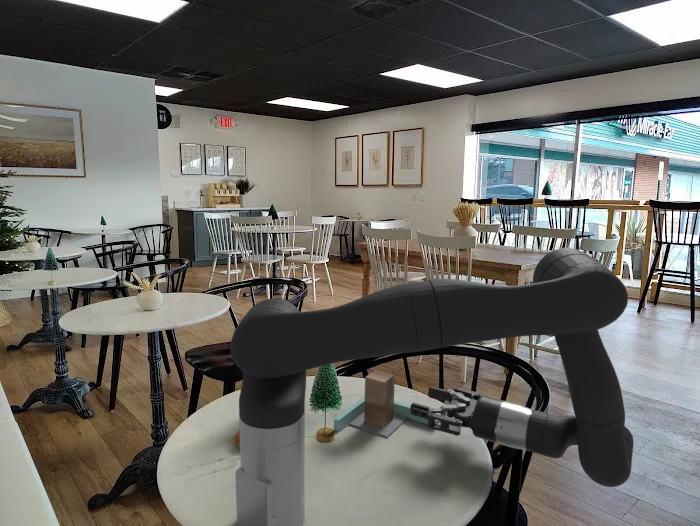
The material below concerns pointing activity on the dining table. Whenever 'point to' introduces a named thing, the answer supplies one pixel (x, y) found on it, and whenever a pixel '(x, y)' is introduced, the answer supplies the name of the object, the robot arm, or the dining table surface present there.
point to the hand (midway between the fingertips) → (420, 399)
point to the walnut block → (379, 398)
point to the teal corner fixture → (357, 420)
